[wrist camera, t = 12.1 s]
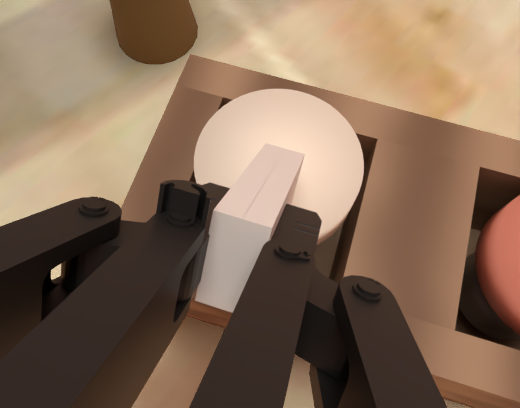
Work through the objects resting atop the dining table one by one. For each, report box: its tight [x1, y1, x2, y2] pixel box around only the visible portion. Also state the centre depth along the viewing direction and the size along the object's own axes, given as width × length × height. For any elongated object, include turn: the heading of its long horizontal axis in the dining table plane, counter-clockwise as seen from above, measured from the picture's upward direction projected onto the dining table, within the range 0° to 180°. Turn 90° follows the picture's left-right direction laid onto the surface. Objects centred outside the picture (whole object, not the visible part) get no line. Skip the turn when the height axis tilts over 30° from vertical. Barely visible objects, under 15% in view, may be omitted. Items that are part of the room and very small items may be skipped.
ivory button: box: [194, 89, 364, 245], centre depth 23 cm, size 7×7×7 cm
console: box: [121, 54, 520, 408], centre depth 25 cm, size 26×12×8 cm, turn 73°
